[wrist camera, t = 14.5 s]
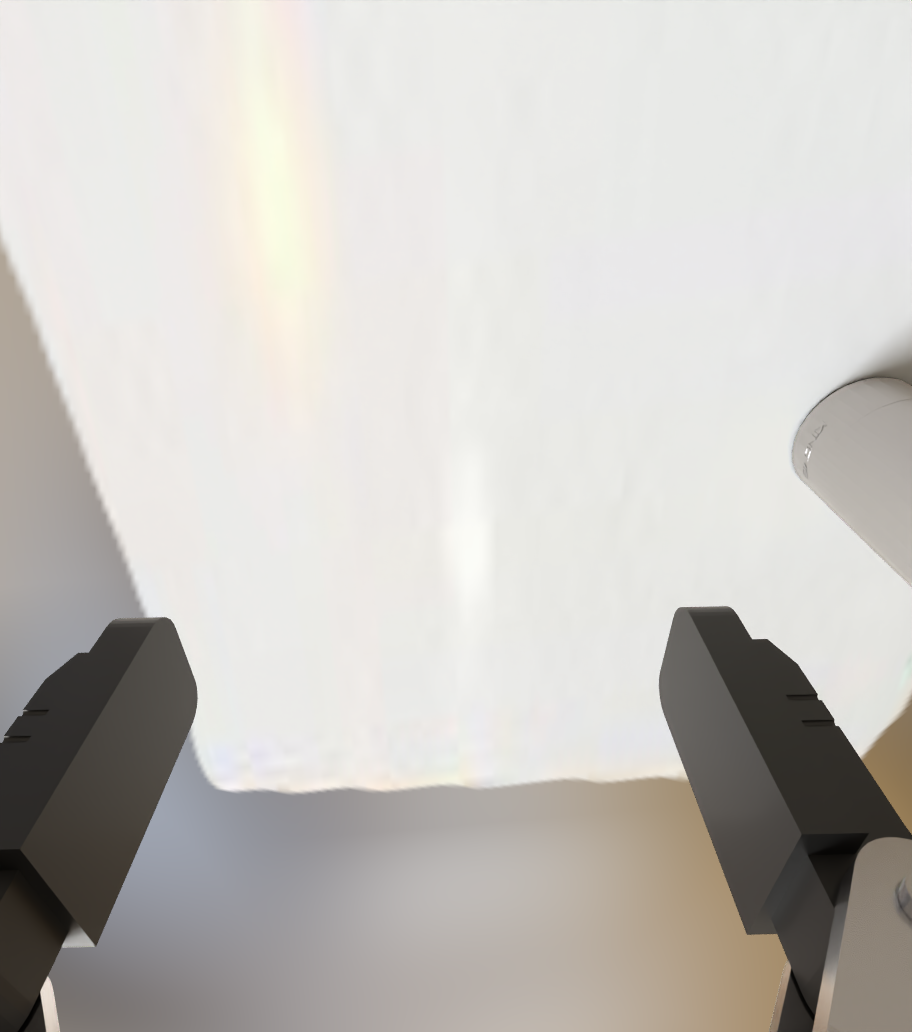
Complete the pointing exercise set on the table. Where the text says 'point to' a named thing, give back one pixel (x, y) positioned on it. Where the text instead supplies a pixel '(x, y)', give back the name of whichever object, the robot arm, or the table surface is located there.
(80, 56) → the table surface
